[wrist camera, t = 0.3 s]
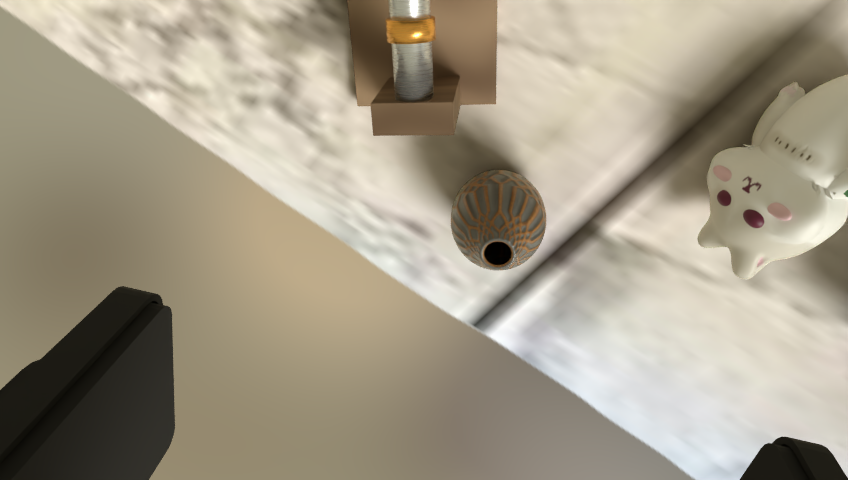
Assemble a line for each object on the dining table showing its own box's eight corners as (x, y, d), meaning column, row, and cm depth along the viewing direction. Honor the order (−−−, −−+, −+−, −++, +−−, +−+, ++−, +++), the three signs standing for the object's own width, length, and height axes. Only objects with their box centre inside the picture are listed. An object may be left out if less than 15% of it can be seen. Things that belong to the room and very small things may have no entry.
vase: (436, 190, 46) (424, 242, 39) (509, 140, 44) (511, 186, 36) (487, 252, 48) (485, 314, 41) (560, 209, 46) (572, 266, 38)
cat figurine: (970, 85, 30) (755, 300, 35) (993, 139, 35) (802, 321, 40) (810, 23, 37) (649, 212, 42) (848, 76, 42) (700, 239, 47)
